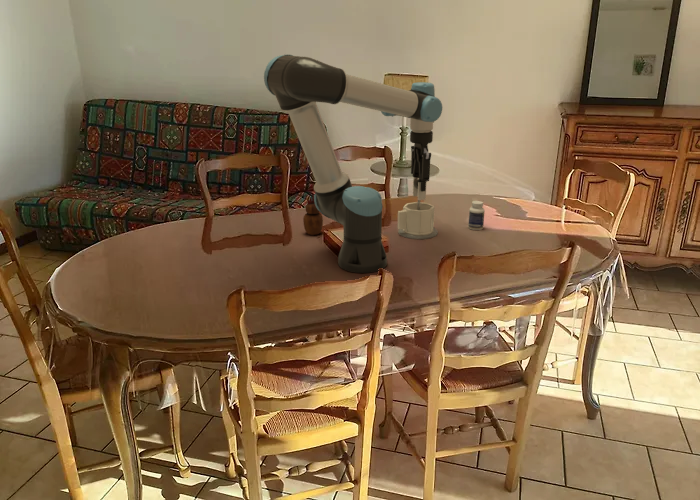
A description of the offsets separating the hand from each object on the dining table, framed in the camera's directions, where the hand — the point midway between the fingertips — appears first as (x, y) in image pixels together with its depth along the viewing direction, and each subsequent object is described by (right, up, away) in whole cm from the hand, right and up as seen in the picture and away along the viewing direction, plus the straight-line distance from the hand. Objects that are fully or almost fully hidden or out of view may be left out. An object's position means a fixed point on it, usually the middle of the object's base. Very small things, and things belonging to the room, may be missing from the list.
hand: (419, 197), depth 206 cm
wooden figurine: (-37, -13, +5) cm, 39 cm away
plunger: (0, -10, +4) cm, 11 cm away
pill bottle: (+22, -11, +9) cm, 25 cm away
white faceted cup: (0, -12, +5) cm, 13 cm away
